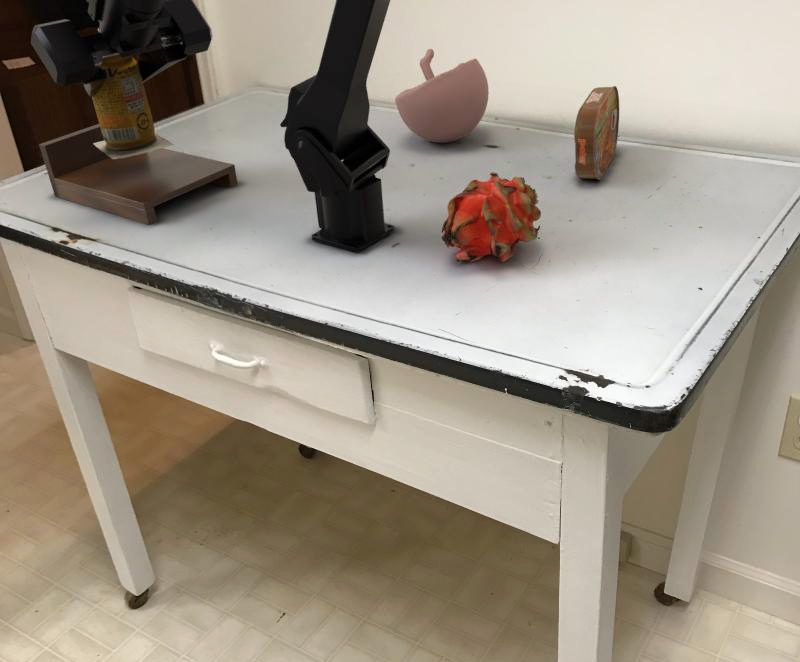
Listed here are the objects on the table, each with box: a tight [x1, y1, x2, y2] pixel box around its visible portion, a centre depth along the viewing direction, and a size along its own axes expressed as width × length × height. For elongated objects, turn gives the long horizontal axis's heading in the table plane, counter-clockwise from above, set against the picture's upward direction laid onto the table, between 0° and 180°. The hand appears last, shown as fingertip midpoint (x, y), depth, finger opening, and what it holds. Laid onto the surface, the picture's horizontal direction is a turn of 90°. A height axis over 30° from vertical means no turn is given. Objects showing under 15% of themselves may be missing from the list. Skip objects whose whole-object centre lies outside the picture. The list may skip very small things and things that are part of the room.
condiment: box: [91, 55, 174, 159], centre depth 99 cm, size 7×8×12 cm
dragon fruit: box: [441, 171, 542, 263], centre depth 83 cm, size 8×8×12 cm
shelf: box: [39, 123, 239, 225], centre depth 103 cm, size 18×14×6 cm
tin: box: [573, 85, 620, 181], centre depth 100 cm, size 15×3×8 cm, turn 158°
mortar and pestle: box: [394, 48, 490, 144], centre depth 111 cm, size 12×12×12 cm
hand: (114, 86), depth 99 cm, fingers closed on condiment, 6 cm apart
